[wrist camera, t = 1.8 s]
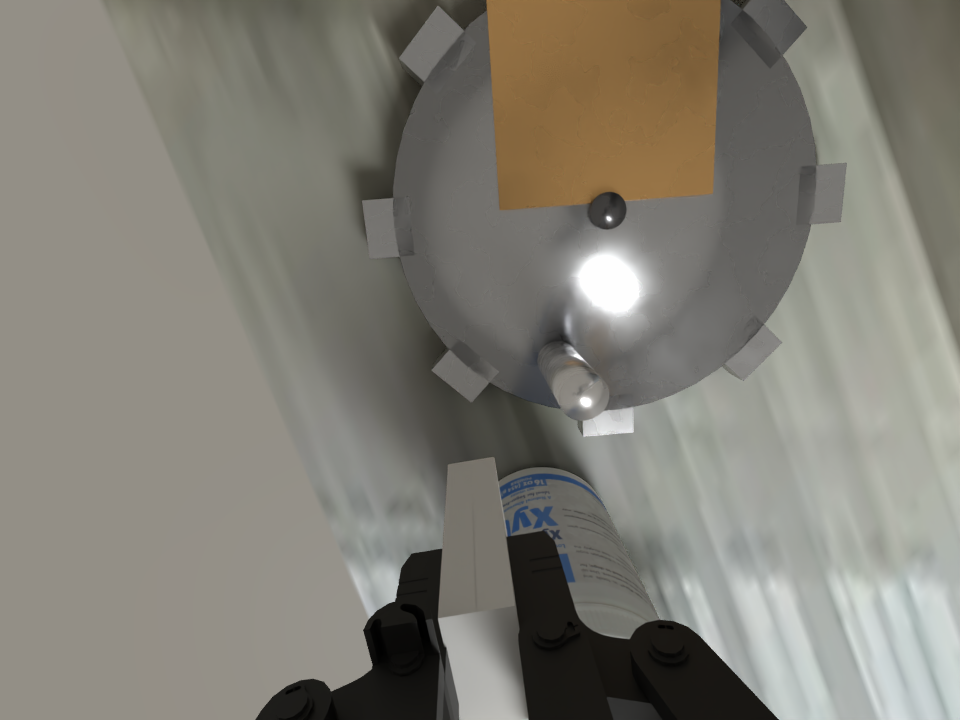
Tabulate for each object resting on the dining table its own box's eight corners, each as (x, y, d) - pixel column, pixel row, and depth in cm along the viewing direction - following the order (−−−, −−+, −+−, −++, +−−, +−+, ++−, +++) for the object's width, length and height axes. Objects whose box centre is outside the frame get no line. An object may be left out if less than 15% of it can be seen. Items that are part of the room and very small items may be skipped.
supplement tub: (515, 438, 33) (553, 590, 19) (630, 499, 35) (745, 684, 20) (446, 547, 35) (432, 760, 21) (557, 601, 37) (615, 834, 22)
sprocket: (558, -186, 24) (606, -404, 16) (921, 158, 29) (1105, 126, 21) (280, 266, 29) (207, 278, 21) (626, 499, 34) (678, 584, 26)
